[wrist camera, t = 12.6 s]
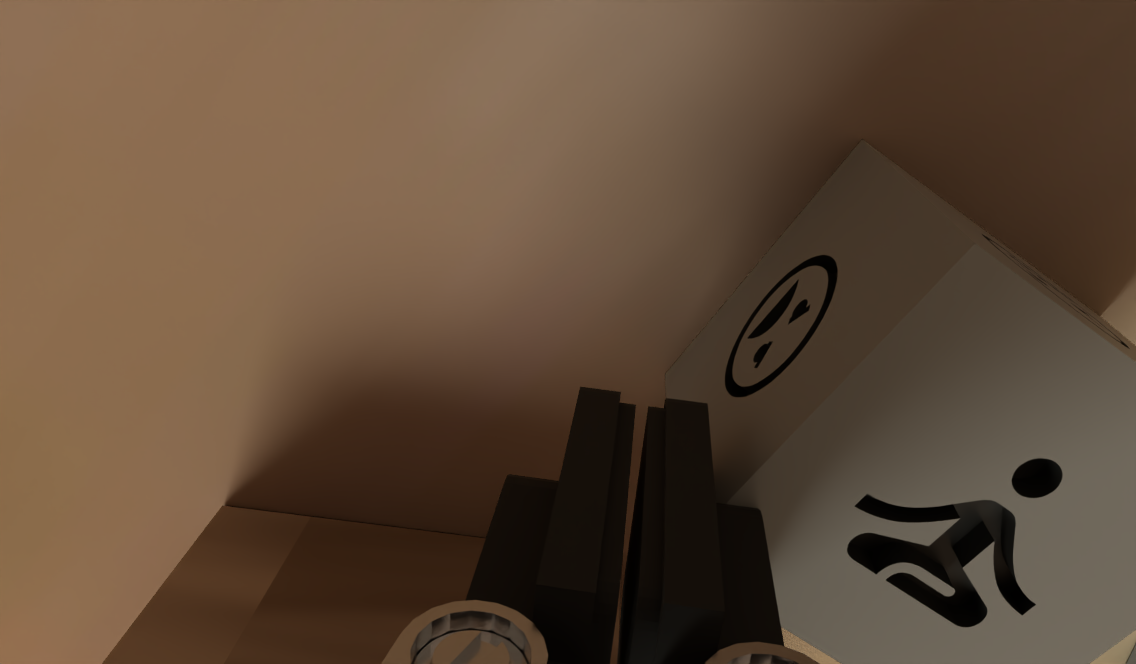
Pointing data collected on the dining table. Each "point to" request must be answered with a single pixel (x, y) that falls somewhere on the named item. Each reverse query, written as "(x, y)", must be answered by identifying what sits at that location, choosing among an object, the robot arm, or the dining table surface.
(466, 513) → the dining table surface
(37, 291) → the dining table surface
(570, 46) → the dining table surface
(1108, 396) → the dice cube
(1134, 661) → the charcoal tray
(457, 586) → the walnut block
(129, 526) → the dining table surface
